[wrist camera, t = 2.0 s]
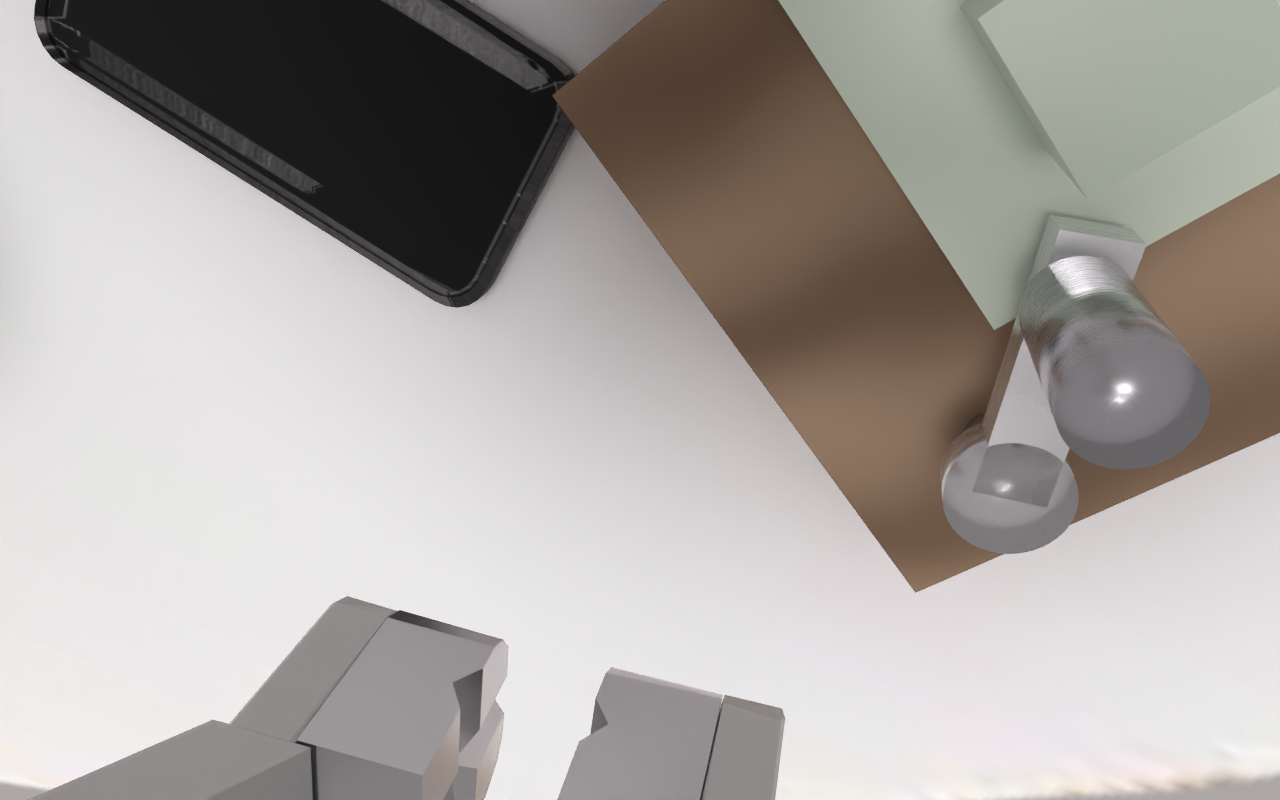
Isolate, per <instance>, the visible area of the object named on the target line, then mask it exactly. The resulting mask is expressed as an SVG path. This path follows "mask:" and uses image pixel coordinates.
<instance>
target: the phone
mask: <svg viewBox="0 0 1280 800" xmlns="http://www.w3.org/2000/svg"><path fill="white" fill-rule="evenodd" d="M34 21H35V25H36V30H37V34H38V36H39V38H40V40H41V42H42V45H43V47H44V48H45V49H46V50H47V52H48V53H49V54H50V56H51V57H52V58H53V59H54V60H55V61H57V62H58V63H59V64H60V65H62V66H63V67H64V68H66V69H68V70H69V71H71V72H72V73H74V74H76V75H77V76H79V77H80V78H82V79H83V80H85V81H87V82H88V83H90V84H91V85H93V86H95V87H96V88H98V89H99V90H101V91H103V92H104V93H106V94H107V95H109V96H111V97H112V98H114V99H115V100H117V101H118V102H120V103H122V104H123V105H125V106H126V107H128V108H130V109H131V110H133V111H134V112H136V113H138V114H139V115H141V116H142V117H144V118H145V119H147V120H149V121H150V122H152V123H153V124H155V125H157V126H158V127H160V128H161V129H163V130H165V131H166V132H168V133H169V134H171V135H172V136H174V137H176V138H177V139H179V140H180V141H182V142H184V143H185V144H187V145H188V146H190V147H191V148H193V149H195V150H196V151H198V152H199V153H201V154H203V155H204V156H206V157H207V158H209V159H211V160H212V161H214V162H215V163H217V164H218V165H220V166H222V167H223V168H225V169H226V170H228V171H230V172H231V173H233V174H234V175H236V176H237V177H239V178H241V179H242V180H244V181H245V182H247V183H249V184H250V185H252V186H253V187H255V188H257V189H258V190H260V191H261V192H263V193H264V194H266V195H268V196H269V197H271V198H272V199H274V200H276V201H277V202H279V203H280V204H282V205H284V206H285V207H287V208H288V209H290V210H291V211H293V212H295V213H296V214H298V215H299V216H301V217H303V218H304V219H306V220H307V221H309V222H310V223H312V224H314V225H315V226H317V227H318V228H320V229H322V230H323V231H325V232H326V233H328V234H330V235H331V236H333V237H334V238H336V239H337V240H339V241H341V242H342V243H344V244H345V245H347V246H349V247H350V248H352V249H353V250H355V251H356V252H358V253H360V254H361V255H363V256H364V257H366V258H368V259H369V260H371V261H372V262H374V263H376V264H377V265H379V266H380V267H382V268H383V269H385V270H387V271H388V272H390V273H391V274H393V275H395V276H396V277H398V278H399V279H401V280H402V281H404V282H406V283H407V284H409V285H410V286H412V287H414V288H415V289H417V290H418V291H420V292H421V293H423V294H425V295H426V296H428V297H429V298H431V299H433V300H434V301H436V302H438V303H440V304H443V305H445V306H450V307H457V308H458V307H463V306H468V305H470V304H472V303H473V302H475V301H477V300H478V299H479V298H480V297H482V296H483V295H484V294H485V293H486V292H487V291H488V290H489V289H490V287H491V286H492V285H493V284H494V282H495V280H496V278H497V276H498V274H499V272H500V270H501V268H502V266H503V265H504V263H505V261H506V259H507V257H508V255H509V253H510V251H511V249H512V247H513V245H514V243H515V241H516V239H517V238H518V236H519V234H520V232H521V230H522V228H523V226H524V224H525V222H526V220H527V218H528V216H529V214H530V213H531V211H532V209H533V207H534V205H535V203H536V201H537V199H538V197H539V195H540V193H541V191H542V189H543V188H544V186H545V184H546V182H547V180H548V178H549V176H550V174H551V172H552V170H553V168H554V166H555V164H556V163H557V161H558V159H559V157H560V155H561V153H562V151H563V149H564V147H565V145H566V143H567V141H568V139H569V137H570V136H571V134H572V132H573V130H574V128H575V126H574V125H573V123H572V122H571V121H570V119H569V118H568V116H567V115H566V114H565V112H564V111H563V110H562V108H561V107H560V105H559V104H558V103H557V101H556V100H555V99H554V97H553V96H552V95H553V94H555V93H556V92H557V91H558V90H559V89H561V88H562V87H563V86H564V85H565V84H567V83H568V82H569V81H570V80H571V79H573V78H574V77H575V76H574V74H573V72H572V71H571V69H570V68H569V67H567V66H566V65H565V64H564V63H563V62H562V61H561V60H559V59H558V58H556V57H555V56H553V55H552V54H550V53H549V52H547V51H546V50H544V49H542V48H541V47H539V46H538V45H536V44H535V43H533V42H532V41H530V40H528V39H527V38H525V37H524V36H522V35H521V34H519V33H518V32H516V31H515V30H513V29H511V28H510V27H508V26H507V25H505V24H504V23H502V22H501V21H499V20H497V19H496V18H494V17H493V16H491V15H490V14H488V13H487V12H485V11H484V10H482V9H480V8H479V7H477V6H476V5H474V4H473V3H471V2H470V1H468V0H36V3H35V14H34ZM499 268H500V269H499ZM498 270H499V271H498Z"/></svg>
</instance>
